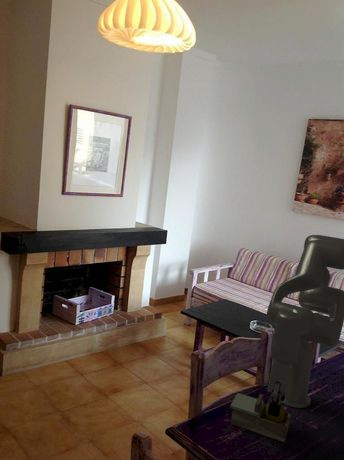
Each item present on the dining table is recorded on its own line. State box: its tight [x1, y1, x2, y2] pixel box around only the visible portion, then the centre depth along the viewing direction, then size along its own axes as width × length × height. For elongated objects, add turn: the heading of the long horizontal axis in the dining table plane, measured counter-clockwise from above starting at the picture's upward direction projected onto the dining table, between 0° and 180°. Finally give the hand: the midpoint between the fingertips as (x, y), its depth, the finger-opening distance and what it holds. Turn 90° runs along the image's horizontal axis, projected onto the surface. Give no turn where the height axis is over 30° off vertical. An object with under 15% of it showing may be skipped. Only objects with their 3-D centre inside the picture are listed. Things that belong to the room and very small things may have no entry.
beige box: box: [230, 403, 292, 443], centre depth 126 cm, size 9×16×4 cm, turn 67°
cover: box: [229, 392, 264, 417], centre depth 127 cm, size 9×8×3 cm
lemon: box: [265, 402, 285, 424], centre depth 124 cm, size 6×6×8 cm
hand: (276, 407), depth 124 cm, fingers open, 9 cm apart
